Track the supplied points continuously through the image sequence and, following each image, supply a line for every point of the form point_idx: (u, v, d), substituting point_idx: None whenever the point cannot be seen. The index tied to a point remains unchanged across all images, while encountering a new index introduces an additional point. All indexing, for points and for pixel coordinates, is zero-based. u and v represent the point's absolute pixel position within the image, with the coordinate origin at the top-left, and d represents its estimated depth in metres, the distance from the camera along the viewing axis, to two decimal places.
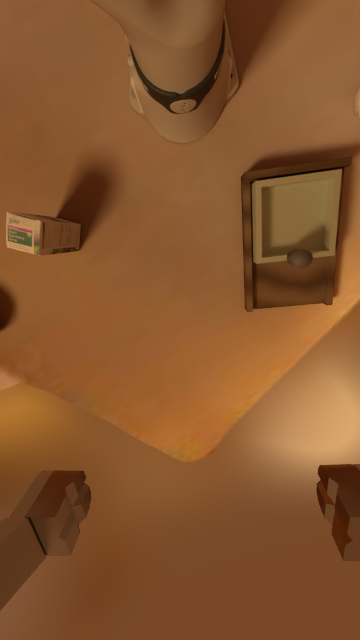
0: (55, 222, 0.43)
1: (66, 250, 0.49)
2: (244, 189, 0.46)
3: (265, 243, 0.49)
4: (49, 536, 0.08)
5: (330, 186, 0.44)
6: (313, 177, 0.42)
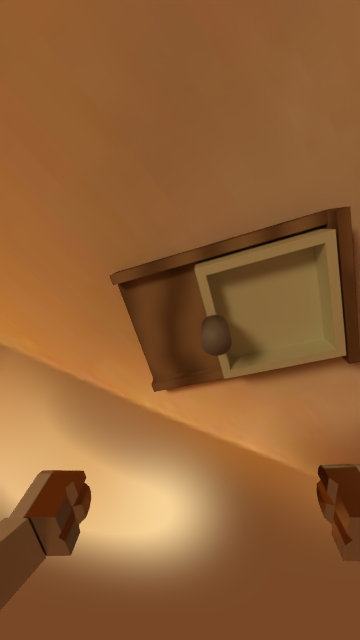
0: None
1: None
2: (314, 217, 0.26)
3: (228, 277, 0.29)
4: (49, 536, 0.08)
5: (319, 346, 0.30)
6: (336, 321, 0.27)
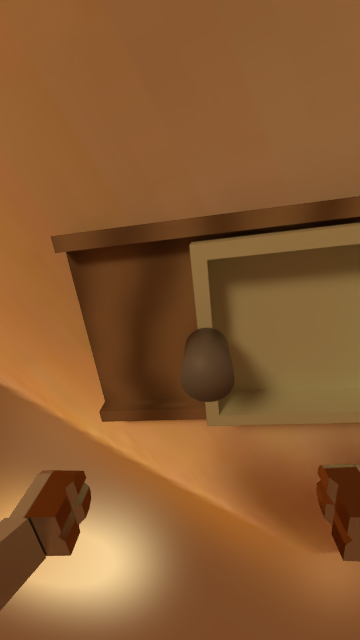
0: None
1: None
2: None
3: (240, 271, 0.19)
4: (49, 536, 0.08)
5: (357, 399, 0.20)
6: None
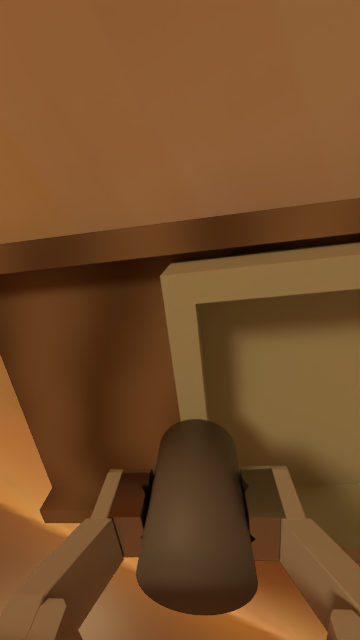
0: None
1: None
2: None
3: (253, 311, 0.11)
4: (130, 536, 0.07)
5: None
6: None
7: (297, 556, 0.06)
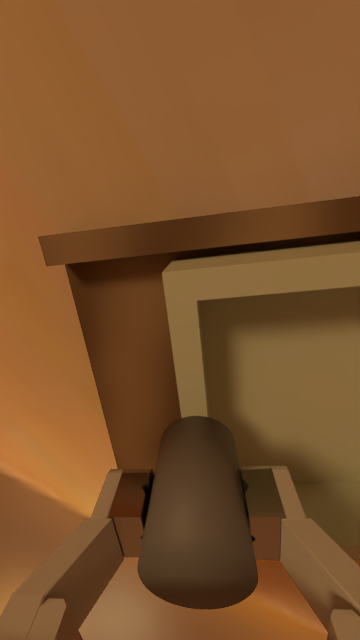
0: None
1: None
2: None
3: (254, 309, 0.11)
4: (130, 536, 0.07)
5: None
6: None
7: (297, 556, 0.06)
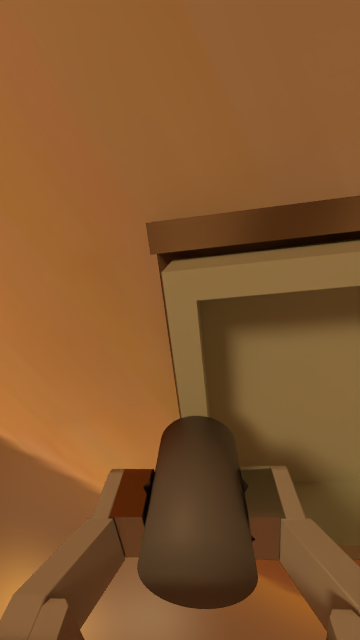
0: None
1: None
2: None
3: (254, 309, 0.11)
4: (131, 537, 0.07)
5: None
6: None
7: (297, 556, 0.06)
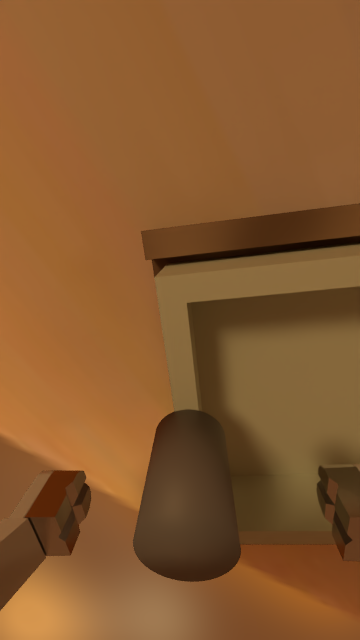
0: None
1: None
2: None
3: (242, 310, 0.12)
4: (49, 536, 0.08)
5: None
6: None
7: None
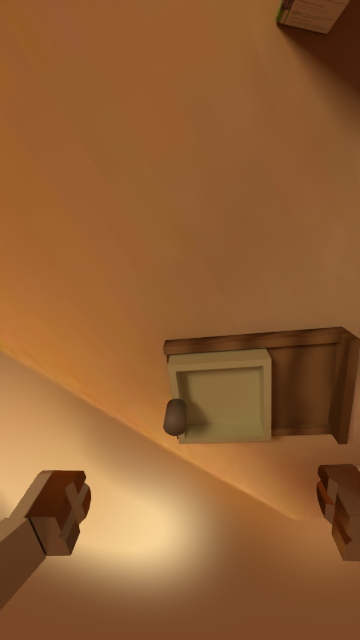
0: None
1: None
2: (332, 335, 0.34)
3: None
4: (49, 536, 0.08)
5: (253, 429, 0.39)
6: (266, 417, 0.36)
7: None
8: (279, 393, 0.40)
